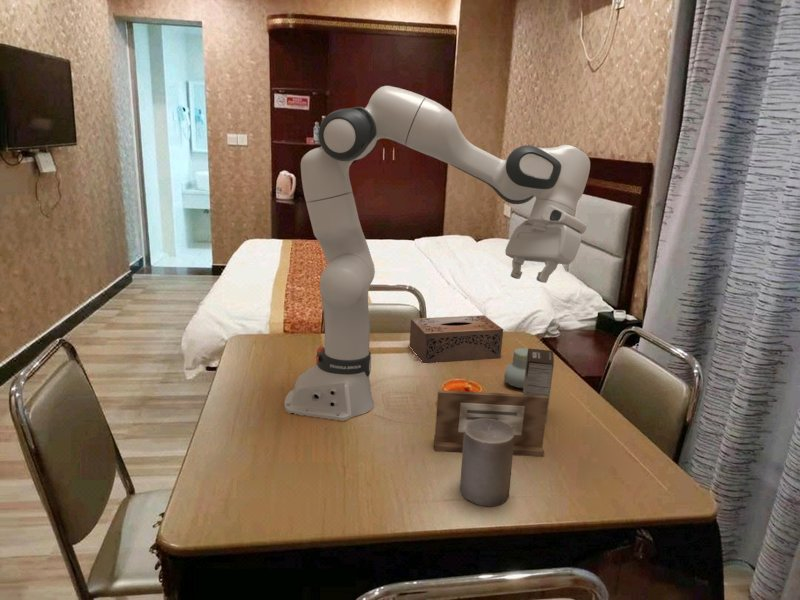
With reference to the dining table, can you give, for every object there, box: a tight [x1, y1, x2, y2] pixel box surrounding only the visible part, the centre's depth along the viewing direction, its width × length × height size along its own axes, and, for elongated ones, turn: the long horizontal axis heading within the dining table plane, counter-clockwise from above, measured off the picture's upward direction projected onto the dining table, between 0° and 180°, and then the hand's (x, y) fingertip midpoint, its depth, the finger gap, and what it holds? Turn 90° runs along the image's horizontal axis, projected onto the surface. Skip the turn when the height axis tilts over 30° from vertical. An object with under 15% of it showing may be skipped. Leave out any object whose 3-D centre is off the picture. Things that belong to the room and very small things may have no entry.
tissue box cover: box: [409, 314, 504, 364], centre depth 186 cm, size 26×14×10 cm, turn 106°
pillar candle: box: [459, 418, 514, 507], centre depth 112 cm, size 10×10×15 cm
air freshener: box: [503, 347, 529, 389], centre depth 164 cm, size 11×8×10 cm
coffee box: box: [522, 348, 555, 424], centre depth 146 cm, size 9×6×16 cm
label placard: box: [433, 389, 549, 457], centre depth 129 cm, size 24×5×13 cm, turn 89°
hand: (527, 279), depth 125 cm, fingers open, 8 cm apart
